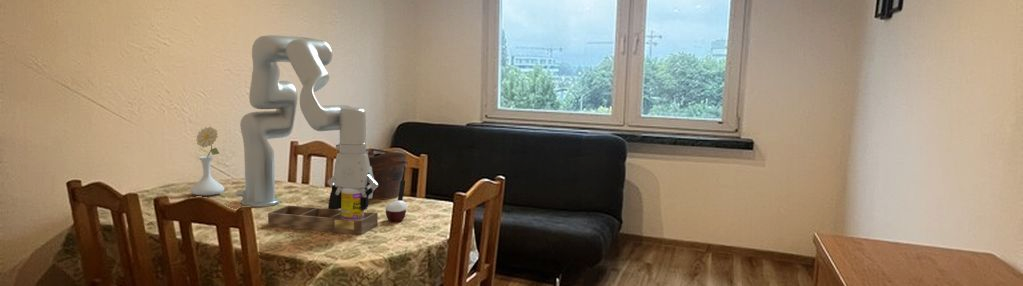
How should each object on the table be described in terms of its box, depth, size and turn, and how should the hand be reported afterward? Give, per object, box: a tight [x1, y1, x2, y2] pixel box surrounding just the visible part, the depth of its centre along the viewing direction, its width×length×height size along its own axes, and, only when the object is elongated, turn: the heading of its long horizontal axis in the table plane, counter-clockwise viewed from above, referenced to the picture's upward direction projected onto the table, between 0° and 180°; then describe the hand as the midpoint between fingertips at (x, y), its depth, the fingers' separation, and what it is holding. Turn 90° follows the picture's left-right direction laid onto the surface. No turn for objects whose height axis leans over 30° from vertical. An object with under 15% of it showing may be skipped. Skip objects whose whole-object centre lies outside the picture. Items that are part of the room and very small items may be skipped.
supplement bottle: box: [341, 188, 365, 220], centre depth 195 cm, size 7×7×13 cm
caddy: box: [267, 205, 378, 236], centre depth 198 cm, size 30×11×4 cm, turn 77°
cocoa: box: [385, 179, 408, 223], centre depth 207 cm, size 10×6×12 cm, turn 140°
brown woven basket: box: [366, 147, 409, 200], centre depth 243 cm, size 18×20×18 cm
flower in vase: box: [189, 126, 225, 196], centre depth 236 cm, size 13×11×25 cm
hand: (352, 208), depth 196 cm, fingers closed on supplement bottle, 6 cm apart
